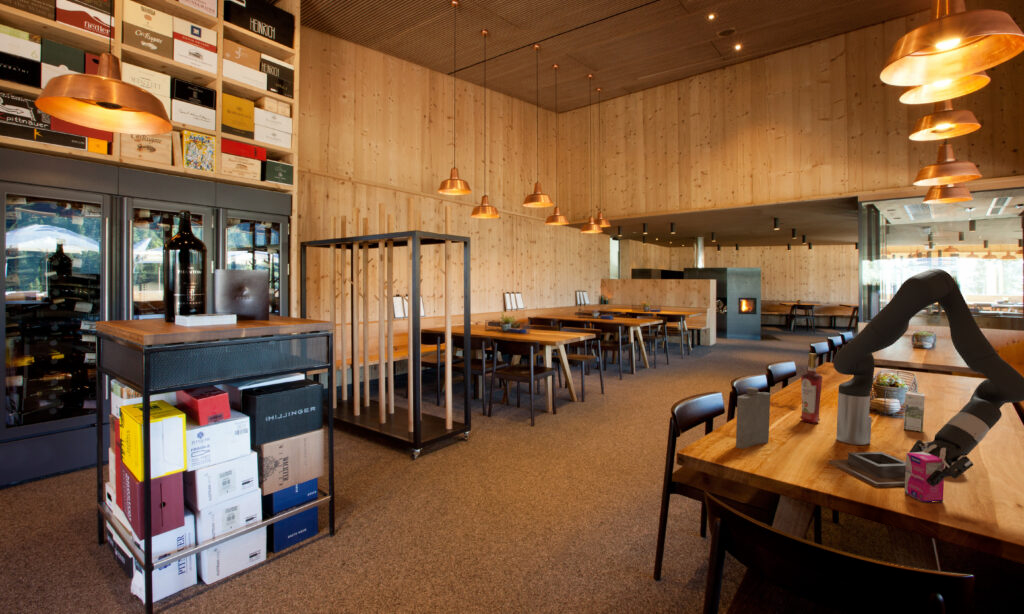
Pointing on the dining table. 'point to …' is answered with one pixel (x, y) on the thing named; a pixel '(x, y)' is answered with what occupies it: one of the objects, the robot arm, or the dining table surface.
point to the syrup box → (914, 411)
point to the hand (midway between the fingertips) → (918, 478)
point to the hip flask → (752, 418)
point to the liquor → (811, 392)
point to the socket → (874, 468)
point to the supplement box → (922, 477)
